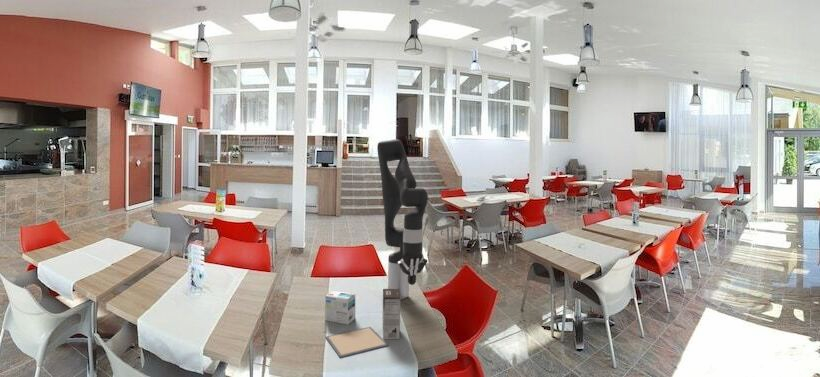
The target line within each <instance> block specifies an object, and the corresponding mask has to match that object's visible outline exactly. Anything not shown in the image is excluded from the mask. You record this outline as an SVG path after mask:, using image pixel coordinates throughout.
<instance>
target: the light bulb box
mask: <svg viewBox="0 0 820 377" xmlns="http://www.w3.org/2000/svg"><path fill="white" fill-rule="evenodd" d="M324 299H325V303H324V304H325V305H324V306H325V307H324V308H325V315H324V316H325V321H326V322H332V323H336V324H342V325H347V326H348V325H349V324H350V323H352V322H353V321H354V320H356V293H352V292H342V291H337V290H332V291H330V292H329V293H328V294H326V295H325V296H324Z"/></svg>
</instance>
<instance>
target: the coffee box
mask: <svg viewBox="0 0 820 377" xmlns="http://www.w3.org/2000/svg"><path fill="white" fill-rule="evenodd" d="M400 298H401V297H400V292H399V289H388V288H383V289H382V339H383V340H400V337H401V336H400V333H401V332H400V331H401V299H400Z"/></svg>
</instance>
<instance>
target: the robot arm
mask: <svg viewBox="0 0 820 377" xmlns="http://www.w3.org/2000/svg"><path fill="white" fill-rule="evenodd" d="M376 150H377V158H378V164H379V170H380V178H381V192H382V204H383V211H384V238H385V244H386V245H387V246H388V247H391V248H392V247H394V248H399V251H396V252H393V253H390V254H389V255H388V263H387V264H388V265H387V266H388V267H387V289H399V292H400V297H401V298H400V300H404V299H406V298H408V296H409V297H410V286H414V285H415V284H416V283H417V274H420V273H422V272H423V269H424V267H425V266H426V265H427V263H428V259H426V258H424V255H423V239H424V235H423V233H424V232H423V219H424V218H423V217H424V214H425V211H426V207H427V204H428V200H429V195H428V192H427V191H426V189H424V188H421V187H420V188H418V187H417V186H418V185H417V180H416V178H415V176H414V175H413V172H412V170H411V168H410V164H409V161H408V157H407V155H406V154H407V153H406V150H405V147H404V145H403V143H402V141H401V140H400V139H398V138H397V139H396V138H395V139H388V140H381V141H379V142H378V143H377V149H376ZM395 161H396V162H397V161H398V164H397V167H396V168H395V172H394V175H393V174H392V172H391V171H390V168H389V165H388V162H395ZM416 187H417V188H416ZM402 206H403V207H404V208H405V207H407V208H414V210H413V211H411V212H407V213H405V215H404V217H403V218H404V219H403V221H404V222H403V227H395V225H394V224H395V223H394V222H395V218H396V217H397V214H398V213H399V211H400V209H401V208H402Z"/></svg>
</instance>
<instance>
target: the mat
mask: <svg viewBox="0 0 820 377" xmlns="http://www.w3.org/2000/svg"><path fill="white" fill-rule="evenodd" d="M325 338H326V341H327V342H328V343H329V345H330V346H331V347H332V349H333V351H334V352H335V353H336V354H337V356H338V358H340V359H342V358H346V357H350V356H353V355H358V354H361V353H365V352H370V351H373V350H378V349H380V348H386V347H388V346H389V343H387V342H386V341H385V339H383V337H381V336H380V334H378V332H376V331H375V329H373V328H372V326H368V327H364V328H363V327H362V328H359V329H355V330H350V331H346V332H341V333H337V334H331V335H327V336H325Z"/></svg>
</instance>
